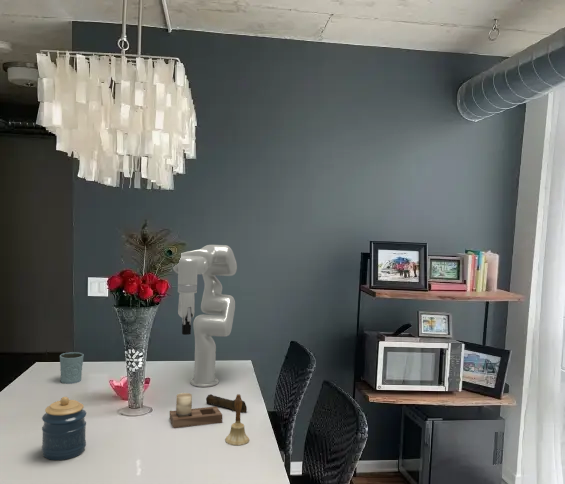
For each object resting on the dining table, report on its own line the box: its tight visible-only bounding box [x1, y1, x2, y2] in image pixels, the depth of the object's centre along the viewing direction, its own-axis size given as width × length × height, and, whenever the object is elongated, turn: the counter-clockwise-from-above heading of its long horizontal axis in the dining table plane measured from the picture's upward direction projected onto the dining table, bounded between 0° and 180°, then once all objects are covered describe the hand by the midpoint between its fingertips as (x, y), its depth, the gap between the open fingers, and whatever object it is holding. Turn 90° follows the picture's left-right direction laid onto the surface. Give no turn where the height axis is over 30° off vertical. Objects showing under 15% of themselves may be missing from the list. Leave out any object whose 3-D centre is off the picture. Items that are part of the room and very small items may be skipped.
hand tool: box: [205, 394, 248, 414], centre depth 207 cm, size 19×4×5 cm, turn 57°
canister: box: [41, 396, 87, 461], centre depth 165 cm, size 13×13×18 cm
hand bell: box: [224, 393, 250, 446], centre depth 177 cm, size 8×8×16 cm
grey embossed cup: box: [59, 351, 84, 385], centre depth 235 cm, size 10×10×12 cm
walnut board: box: [168, 405, 223, 429], centre depth 193 cm, size 9×18×3 cm, turn 111°
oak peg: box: [175, 392, 193, 417], centre depth 192 cm, size 6×6×10 cm
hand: (186, 334), depth 208 cm, fingers closed
